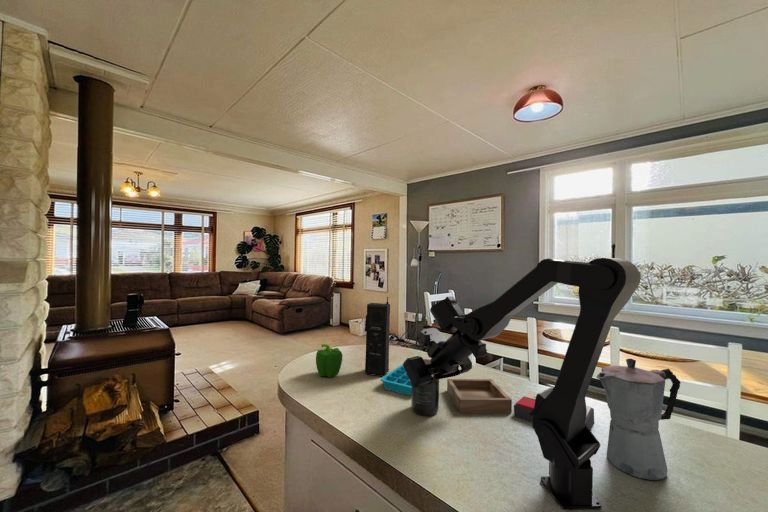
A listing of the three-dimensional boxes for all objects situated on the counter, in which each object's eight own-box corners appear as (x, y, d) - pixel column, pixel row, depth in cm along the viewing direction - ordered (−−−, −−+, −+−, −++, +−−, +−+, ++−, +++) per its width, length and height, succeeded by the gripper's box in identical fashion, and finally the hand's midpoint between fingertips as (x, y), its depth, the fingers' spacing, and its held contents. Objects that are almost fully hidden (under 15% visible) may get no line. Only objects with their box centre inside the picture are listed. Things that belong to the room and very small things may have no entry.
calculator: (528, 388, 85) (594, 404, 74) (528, 405, 84) (594, 423, 74) (512, 402, 77) (584, 421, 66) (513, 420, 76) (585, 442, 66)
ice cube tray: (440, 375, 102) (440, 366, 102) (415, 399, 85) (415, 388, 85) (408, 368, 108) (408, 360, 108) (378, 389, 90) (378, 379, 90)
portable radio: (361, 374, 101) (362, 297, 101) (367, 368, 107) (369, 295, 107) (384, 377, 99) (386, 298, 99) (389, 370, 105) (391, 296, 105)
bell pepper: (345, 371, 104) (345, 340, 104) (337, 380, 96) (338, 348, 96) (320, 369, 105) (321, 339, 105) (311, 378, 97) (312, 346, 97)
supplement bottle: (417, 401, 83) (418, 356, 83) (442, 407, 80) (442, 360, 80) (406, 412, 77) (407, 363, 77) (433, 419, 74) (434, 368, 74)
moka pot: (580, 449, 63) (582, 351, 63) (651, 448, 64) (653, 351, 64) (618, 484, 54) (620, 368, 54) (701, 481, 55) (703, 367, 55)
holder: (511, 413, 78) (511, 399, 78) (460, 412, 77) (460, 399, 77) (491, 390, 91) (491, 379, 91) (447, 390, 90) (447, 378, 90)
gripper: (463, 315, 81) (432, 347, 90) (409, 323, 70) (379, 359, 79) (489, 354, 74) (452, 384, 83) (433, 370, 63) (398, 402, 72)
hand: (421, 381), depth 80 cm, fingers closed on supplement bottle, 6 cm apart
